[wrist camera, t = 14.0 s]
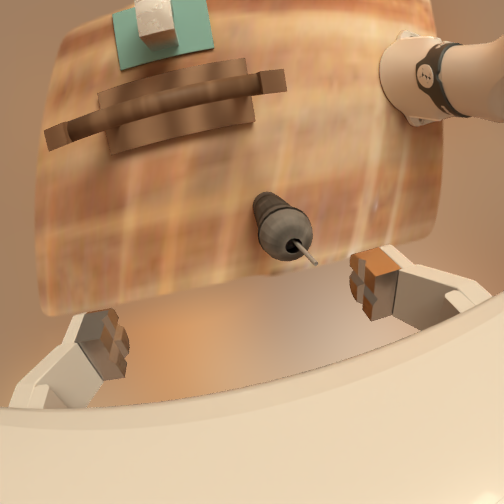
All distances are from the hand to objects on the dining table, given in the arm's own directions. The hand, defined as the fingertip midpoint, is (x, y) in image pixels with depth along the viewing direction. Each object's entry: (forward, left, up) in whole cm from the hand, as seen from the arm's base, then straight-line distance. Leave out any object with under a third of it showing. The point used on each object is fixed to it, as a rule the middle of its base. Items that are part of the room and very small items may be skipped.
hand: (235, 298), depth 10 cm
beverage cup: (-8, +12, -39) cm, 42 cm away
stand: (+3, -7, -39) cm, 40 cm away
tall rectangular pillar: (+3, -19, -38) cm, 43 cm away
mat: (+3, -19, -39) cm, 44 cm away
